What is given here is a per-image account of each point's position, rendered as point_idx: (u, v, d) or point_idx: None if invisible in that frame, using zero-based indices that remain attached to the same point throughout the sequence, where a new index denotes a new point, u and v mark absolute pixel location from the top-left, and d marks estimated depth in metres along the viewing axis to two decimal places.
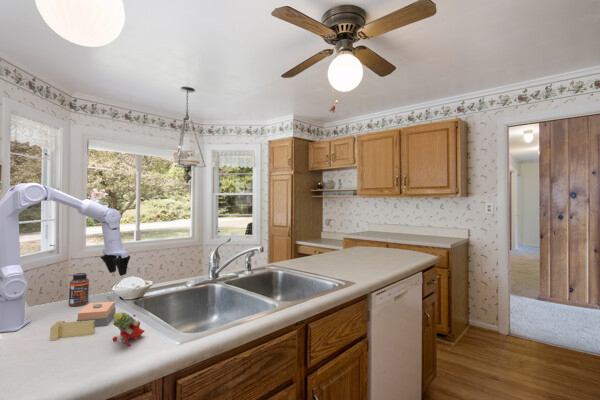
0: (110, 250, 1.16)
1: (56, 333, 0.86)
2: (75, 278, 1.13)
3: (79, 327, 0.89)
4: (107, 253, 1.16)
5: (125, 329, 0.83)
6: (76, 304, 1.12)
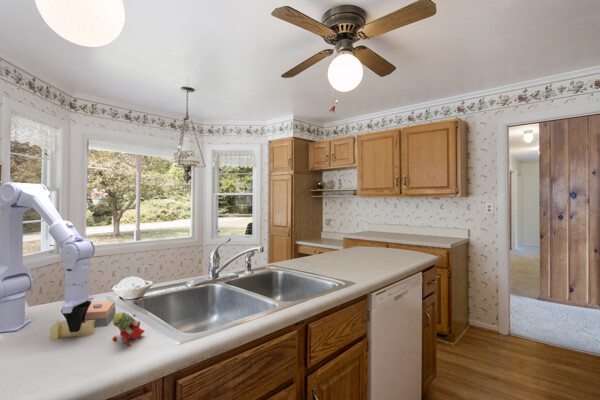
0: (65, 297, 0.87)
1: (56, 333, 0.86)
2: None
3: (80, 326, 0.89)
4: (64, 300, 0.88)
5: (125, 329, 0.83)
6: None
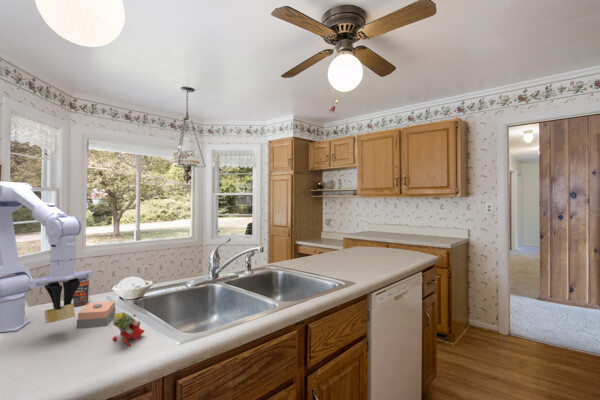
0: None
1: (47, 316, 0.87)
2: None
3: (60, 310, 0.86)
4: None
5: (125, 329, 0.83)
6: (76, 304, 1.12)
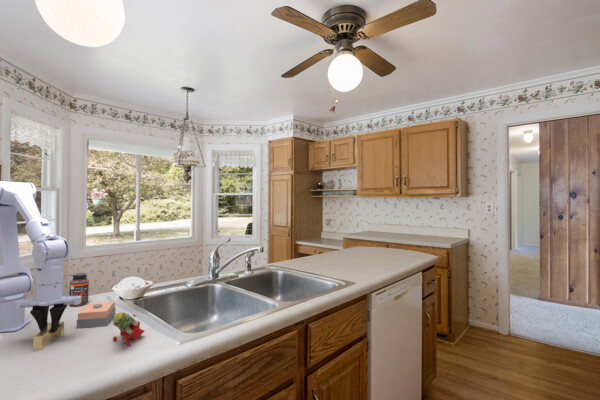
0: None
1: None
2: (75, 278, 1.13)
3: None
4: None
5: (125, 329, 0.83)
6: None
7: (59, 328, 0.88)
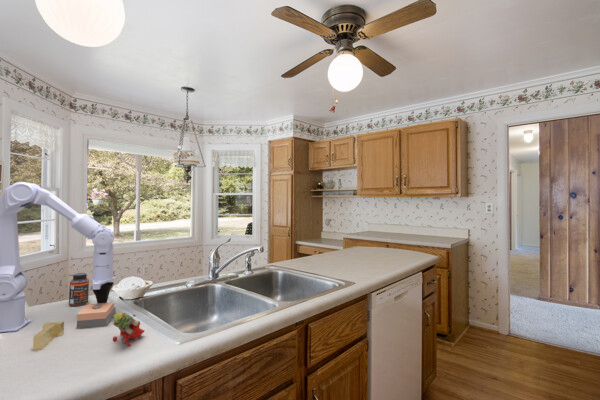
0: (93, 277, 1.02)
1: None
2: (75, 278, 1.13)
3: None
4: (92, 279, 1.03)
5: (125, 329, 0.83)
6: (76, 304, 1.12)
7: (59, 328, 0.88)
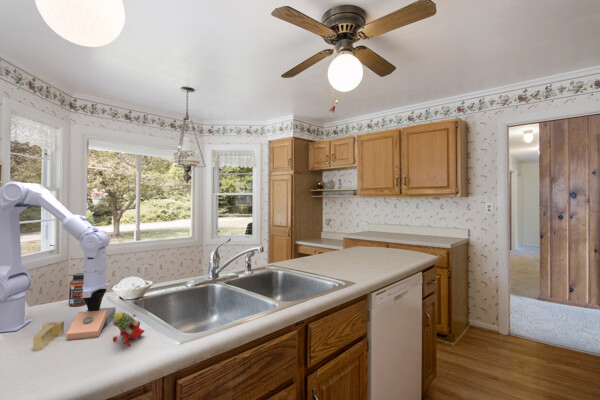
0: (84, 283, 0.94)
1: None
2: (75, 278, 1.13)
3: None
4: (83, 286, 0.95)
5: (125, 329, 0.83)
6: (76, 304, 1.12)
7: (59, 328, 0.88)
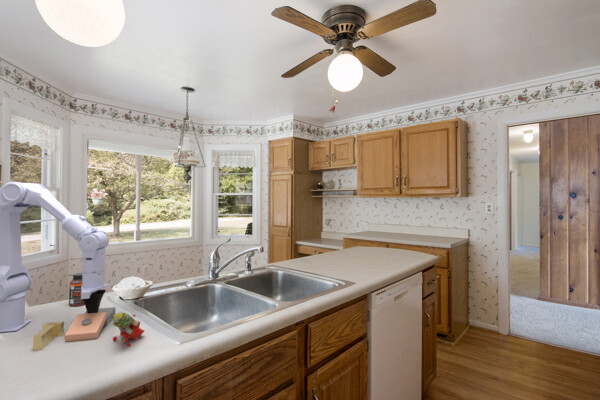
0: (82, 284, 0.93)
1: None
2: (75, 278, 1.13)
3: None
4: (81, 287, 0.94)
5: (125, 329, 0.83)
6: (76, 304, 1.12)
7: (59, 328, 0.88)
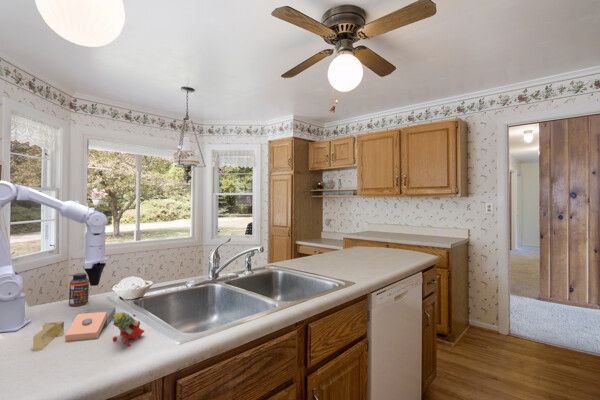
0: (85, 257, 1.05)
1: None
2: (75, 278, 1.13)
3: None
4: (84, 259, 1.06)
5: (125, 329, 0.83)
6: (76, 304, 1.12)
7: (59, 328, 0.88)
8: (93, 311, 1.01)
